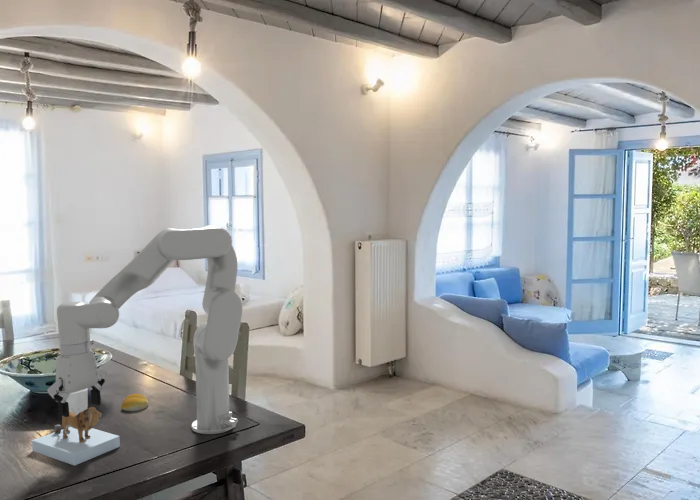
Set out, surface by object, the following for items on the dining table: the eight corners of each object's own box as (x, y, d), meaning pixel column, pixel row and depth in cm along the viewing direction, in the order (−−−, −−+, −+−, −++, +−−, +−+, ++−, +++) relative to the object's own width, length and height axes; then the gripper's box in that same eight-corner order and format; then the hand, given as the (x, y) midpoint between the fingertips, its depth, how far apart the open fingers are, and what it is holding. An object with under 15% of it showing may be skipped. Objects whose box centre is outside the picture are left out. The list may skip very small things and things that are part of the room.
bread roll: (120, 413, 197) (120, 401, 197) (123, 404, 206) (122, 392, 205) (148, 410, 199) (147, 398, 199) (149, 402, 208) (148, 390, 208)
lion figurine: (105, 437, 169) (104, 405, 168) (91, 444, 164) (90, 411, 163) (62, 431, 174) (61, 399, 173) (47, 438, 169) (46, 405, 168)
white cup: (94, 419, 191) (93, 387, 190) (73, 427, 184) (72, 395, 183) (76, 415, 195) (75, 384, 194) (55, 423, 188) (53, 391, 187)
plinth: (119, 446, 170) (119, 429, 170) (74, 465, 158) (73, 446, 158) (78, 434, 179) (77, 417, 179) (32, 451, 167) (31, 433, 167)
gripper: (94, 339, 175) (99, 398, 177) (36, 355, 160) (42, 418, 162) (111, 342, 171) (116, 402, 173) (54, 358, 157) (60, 423, 158)
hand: (80, 410), depth 168 cm, fingers open, 9 cm apart
